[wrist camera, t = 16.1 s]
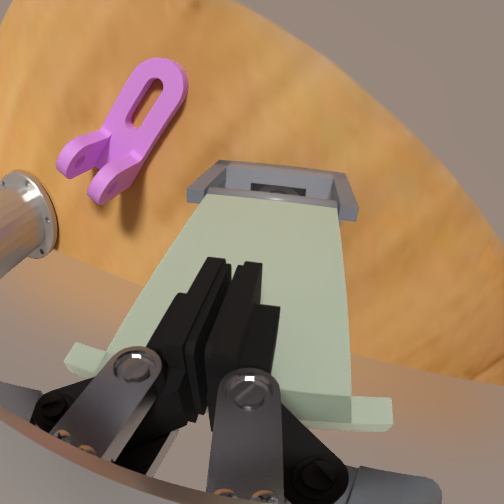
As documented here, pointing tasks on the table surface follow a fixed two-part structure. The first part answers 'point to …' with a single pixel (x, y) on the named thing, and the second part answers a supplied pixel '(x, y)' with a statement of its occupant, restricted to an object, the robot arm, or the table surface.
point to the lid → (267, 299)
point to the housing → (278, 183)
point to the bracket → (126, 131)
